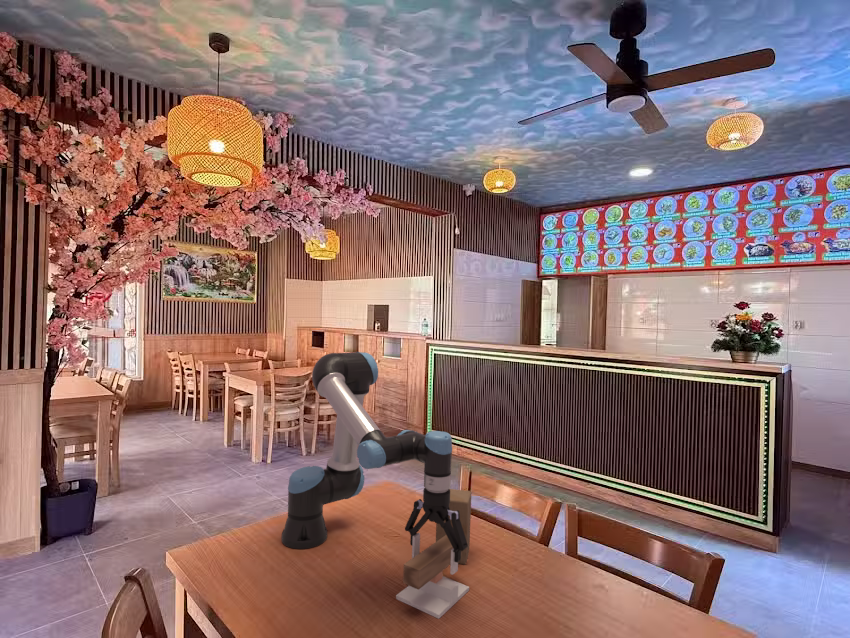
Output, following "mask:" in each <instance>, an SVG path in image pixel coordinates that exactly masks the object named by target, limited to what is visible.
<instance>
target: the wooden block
mask: <svg viewBox="0 0 850 638" xmlns="http://www.w3.org/2000/svg"><path fill="white" fill-rule="evenodd" d="M449 508H450V510H451V511H457V510H458V511H459V512H460V522H461V525H462V528H463V531H464V534H465V538H466V541H467V544H468V547H467V548H466V549H464V550H463V551H462V556H461V559H460V561H459V562H458V565H459V564H460V565H466V564H467V561H468V559H469V558H468V557H469V552H470V545H471V544H470V543H471V542H470V541H471V516H472V515H471V514H472V511H471V510H472V491H471V490H464V489H454V488H450V503H449ZM448 517H449V519H450V516H448ZM450 521H451V519H450ZM445 522H446V521H444V523H445ZM451 525H452V521H451ZM435 526H436V527H435V542H437V541H438V540H440V539H441V538H442V537H444V536H445V535H446V533H445V531H444V529H443V528H442V527H441V526H440V524H437V523H435ZM452 527H453V525H452Z"/></svg>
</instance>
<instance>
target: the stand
mask: <svg viewBox="0 0 850 638" xmlns="http://www.w3.org/2000/svg"><path fill="white" fill-rule="evenodd" d="M443 571H444V570H443ZM443 571H441V572H440V573H439V574H438V575H436V576H435V577H434V578H433V579H431V580H430V581H429V582H428V583H426V584H425V585H424V586H423V587H421V588H420V589H419V590H418V589H416V588H413V587H411V586H409V585H407V586H406V587H405V588H404V589H402V590H401V591H399V593H397V594H396V595H395V599H396V600H398V601H399V602H402V603H403V604H406V605H408V606H411V607H413V608H415V609H417V610H419V611H421V612H423V613H426V614H428V615H430V616H431V617H434V618H436V619H440V618H442V616H443V615H444V614H446V612H448V611H449V610H450V609H452V608H453V606H454V605H455V604H457V602H459V600H461V598H462V597H464V596H465V595H466V594H467V593H468V592H469V591H470V586H468V585H465V584H463V583H461V582H458V581H455V580H454V579H451V578H449V577H446V576H443V573H444V572H443Z"/></svg>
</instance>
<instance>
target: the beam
mask: <svg viewBox="0 0 850 638" xmlns="http://www.w3.org/2000/svg"><path fill="white" fill-rule="evenodd" d="M452 549H453V547H452V545H451V543H450V541H449V539H448V537H447V535H445V536H444V537H442V538H441V539H440V540H438V541H437V542H436V541H435V542H434V543H432V544H431V545H430V546H428V547H427V548H425V549H424V550H422V551H421V552H420V553H419V554H418V555H416V556H415V557H413V558H412V557H411V559H409V560H408V561H406V562H405V563H403V577H402V581H403V582H402V583H403V584H404V585H407V586H411V587H413V588H416V589H418V590H419V589H420V588H421V587H423V586H424V585H425V584H426V583H428V582H429V581H430V580H431V579H433V578H434V577H435V576H436V575H438V574H439V573H440V572H441V571H444V570H446V569H447V568H448V567H450V566H451V550H452ZM461 556H462V551H461Z"/></svg>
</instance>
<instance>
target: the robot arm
mask: <svg viewBox="0 0 850 638" xmlns="http://www.w3.org/2000/svg"><path fill="white" fill-rule="evenodd" d="M312 369H313V370H312V372H311V380H312V384H313V387H314V388H315V390H316V392H317V393H318V395H319V396H320V397H322V398H325V399H326V400H327V402H328V403H329V405H330V406H331V408H332V409H333V411H334V412H335V414H336V420H335V421H336V422H335V429H334V437H333V446H332V453H331V457H329V458H328V459H327V462H326V467H325V468H323V467H322V466H319V465H312V466H310V465H309V466H304V467H300V468H298V469H296V470H295V471H293V472H292V473H291V474H290V476H289V477H288V478H289V479H288V484H287V485H288V486H287V491H288V492H287V493H288V494H287V495H288V496H287V497H288V498H287V518H286V522H285V525H284V528H283V530H282V532H281V543H282V544H283V545H284V546H285V547H287V548H290V549H295V550H296V549H298V550H305V549H310V548H315V547H317V546H320V545H321V544H323V543H325V542H326V541H327V538H328V529H327V525H326V521H325V518H324V515H323V514H324V513H323V512H324V511H323V508H324V505H328V504H332V503H335V502H339V501H342V500H349V499H351V498H353V497H355V496H358V495H359V494H360V493H361V492H362V490H363V488H364V486H365V475H364V472H365V471H364V469H365V470H371V469H372V470H373V469H380V468H383V467H387V466H391V465H394V464H399V463H404V462H408V461H413V460H414V461H417V462H420V463H422V464H423V465H424V469H423V491H422V493H423V495H422V497H423V498H422V499H421V498H419V499H417V500H416V501H413V509H412V511H411V513H410V515H409V518H408V520H407V522H406V525H405V527H404V530H405V532H408V533H409V534H410V539H409V540H410V546H411V549H412V550H411V559H412V558H413V557H415V556H416V555H418V554H419V553H421V552H420V549H421V547H420V546H421V533H419V532H420V530H421V528H423V526H425V524H426V523H427V522H428V521H429V522H432V523H434V524H436V523H437V524H440V526H441V527H442V528H443V529H444V531H445V533H446V535H447V537H448V539H449V541H450V543H451V545H452V547H453V549H452V550H451V564H450V566H449V568H450V571H449V574H450V575H451V576H452V575H453V576H454V575H455V574H456V573H457V572H458V571H459V564H458V562H459V561H460V559H461V551H463V550H464V549H466V548H467V547H468V544H467V541H466V538H465V534H464V531H463V528H462V525H461V522H460V512H459V511H458V510H457V511H451V510H450V508H449V503H450V489H451V485H452V484H451V483H452V482H451V481H452V479H451V478H452V458H453V457H452V455H453V454H452V453H453V444H452V443H453V440H452V439H453V438H452V436H451V434H450V433H449V432H447V431H440V430H432V431H428V432H427V433H426V434H423V433H419V432H418V431H415V430H410V429H404V430H402V431H401V432H399V433H398V434H397V435H393V436H387V437H386V435H385V434H384V433H383V432H382V430H381V429H380V428H379V427H378V425H377V423H376V422H375V421H374V420H373V419H372V418H371V416H370V414H369V413H368V411H366V409H365V408H364V399H365V396H366V395H368V394H369V392H370V387H371V386H373V385H374V384H376V383H377V381H378V379H379V368H378V364H377V362H376V359H375V358H374V356H373V355H372V354H370V353H368V352H360V351H354V352H353V351H350V352H331V353H327V354H325V355H322V356H321V357H320V358H319V359H318V360H317V361H316V363H315V364H314V367H313V368H312ZM357 458H358V459H357ZM422 509H423V511H424V514H423V515H422V516H421V518H420V519H419V520H418V522H417V519H418V517H419V514H420V513H421V510H422ZM448 516H450V519H451V521H452V525H453V527H452V525H451V521H450V519H449V517H448ZM444 521H446V522H445V523H444ZM415 523H416V524H415Z"/></svg>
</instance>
